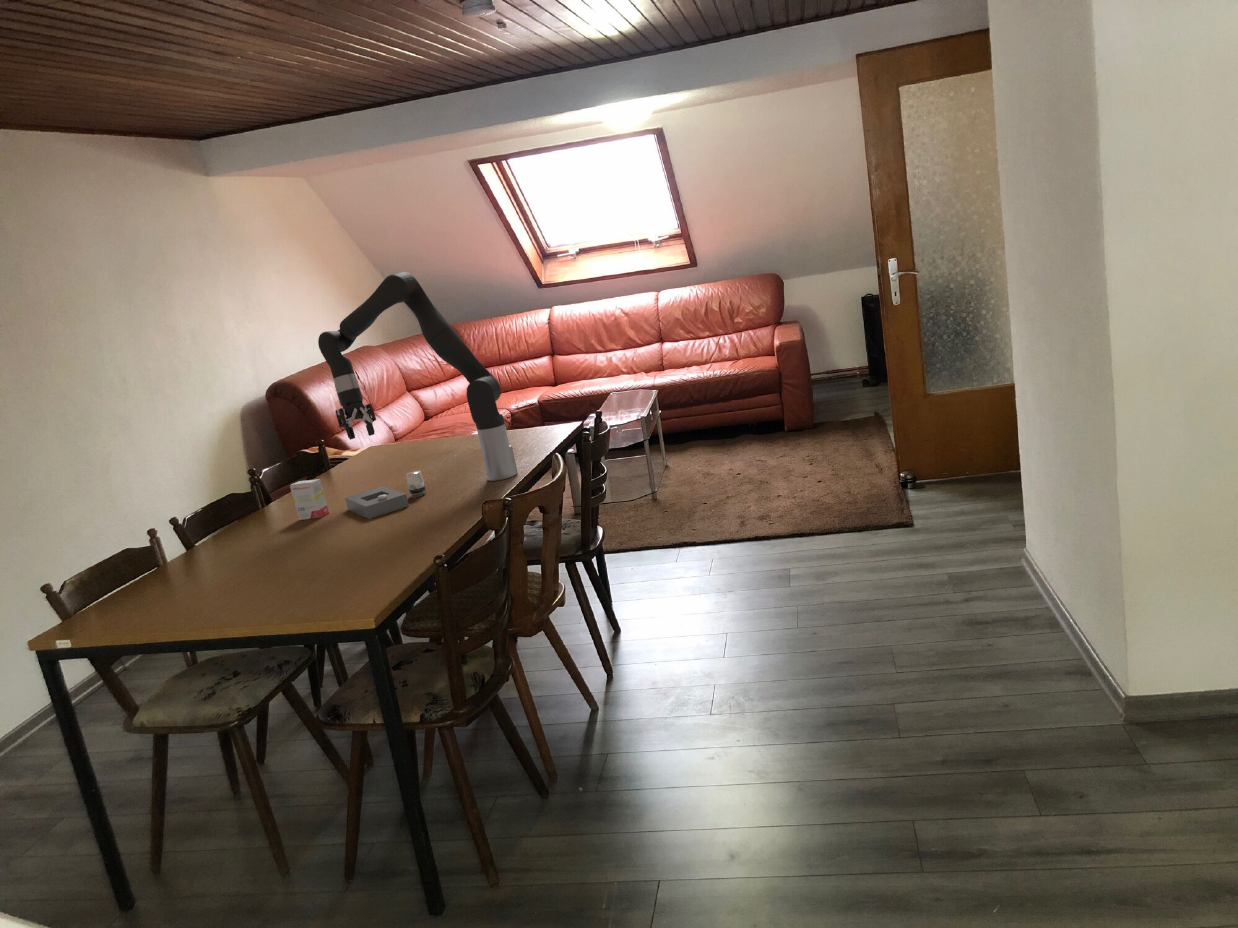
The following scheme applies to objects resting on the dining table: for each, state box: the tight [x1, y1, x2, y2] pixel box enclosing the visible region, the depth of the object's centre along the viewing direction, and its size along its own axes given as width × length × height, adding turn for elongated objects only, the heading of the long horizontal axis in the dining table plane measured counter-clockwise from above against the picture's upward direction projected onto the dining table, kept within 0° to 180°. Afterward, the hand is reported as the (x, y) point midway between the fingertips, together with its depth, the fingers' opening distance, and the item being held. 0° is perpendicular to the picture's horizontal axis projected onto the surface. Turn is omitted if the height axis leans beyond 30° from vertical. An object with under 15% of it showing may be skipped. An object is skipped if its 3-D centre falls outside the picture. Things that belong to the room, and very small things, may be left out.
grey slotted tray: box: [344, 485, 410, 520], centre depth 300 cm, size 13×20×5 cm, turn 35°
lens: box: [405, 470, 427, 499], centre depth 307 cm, size 5×5×8 cm
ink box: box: [289, 478, 330, 521], centre depth 303 cm, size 9×5×12 cm, turn 74°
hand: (362, 437), depth 315 cm, fingers open, 8 cm apart
